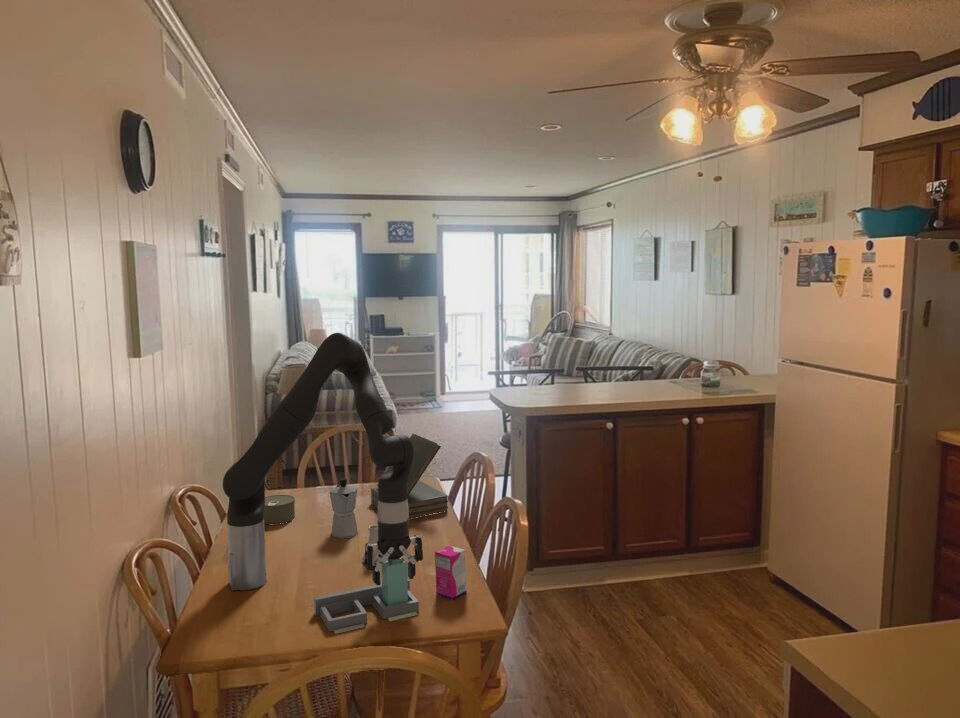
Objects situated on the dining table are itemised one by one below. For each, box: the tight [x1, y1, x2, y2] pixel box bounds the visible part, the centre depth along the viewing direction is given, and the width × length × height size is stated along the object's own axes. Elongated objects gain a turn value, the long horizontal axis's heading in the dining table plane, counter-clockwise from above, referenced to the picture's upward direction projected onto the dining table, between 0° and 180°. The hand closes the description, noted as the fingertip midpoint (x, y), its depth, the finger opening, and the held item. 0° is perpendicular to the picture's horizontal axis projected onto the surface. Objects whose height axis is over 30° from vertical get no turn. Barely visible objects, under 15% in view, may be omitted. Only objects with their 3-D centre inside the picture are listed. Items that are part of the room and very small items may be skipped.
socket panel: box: [313, 579, 420, 635], centre depth 165 cm, size 24×12×4 cm, turn 116°
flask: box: [361, 524, 379, 563], centre depth 197 cm, size 7×7×10 cm
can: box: [264, 494, 296, 525], centre depth 233 cm, size 12×12×7 cm
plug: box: [380, 556, 409, 607], centre depth 168 cm, size 5×5×13 cm
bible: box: [370, 433, 449, 520], centre depth 243 cm, size 23×20×25 cm
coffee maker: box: [329, 478, 359, 539], centre depth 219 cm, size 15×9×18 cm, turn 22°
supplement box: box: [434, 545, 467, 601], centre depth 175 cm, size 6×6×12 cm
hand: (394, 581), depth 168 cm, fingers open, 8 cm apart
